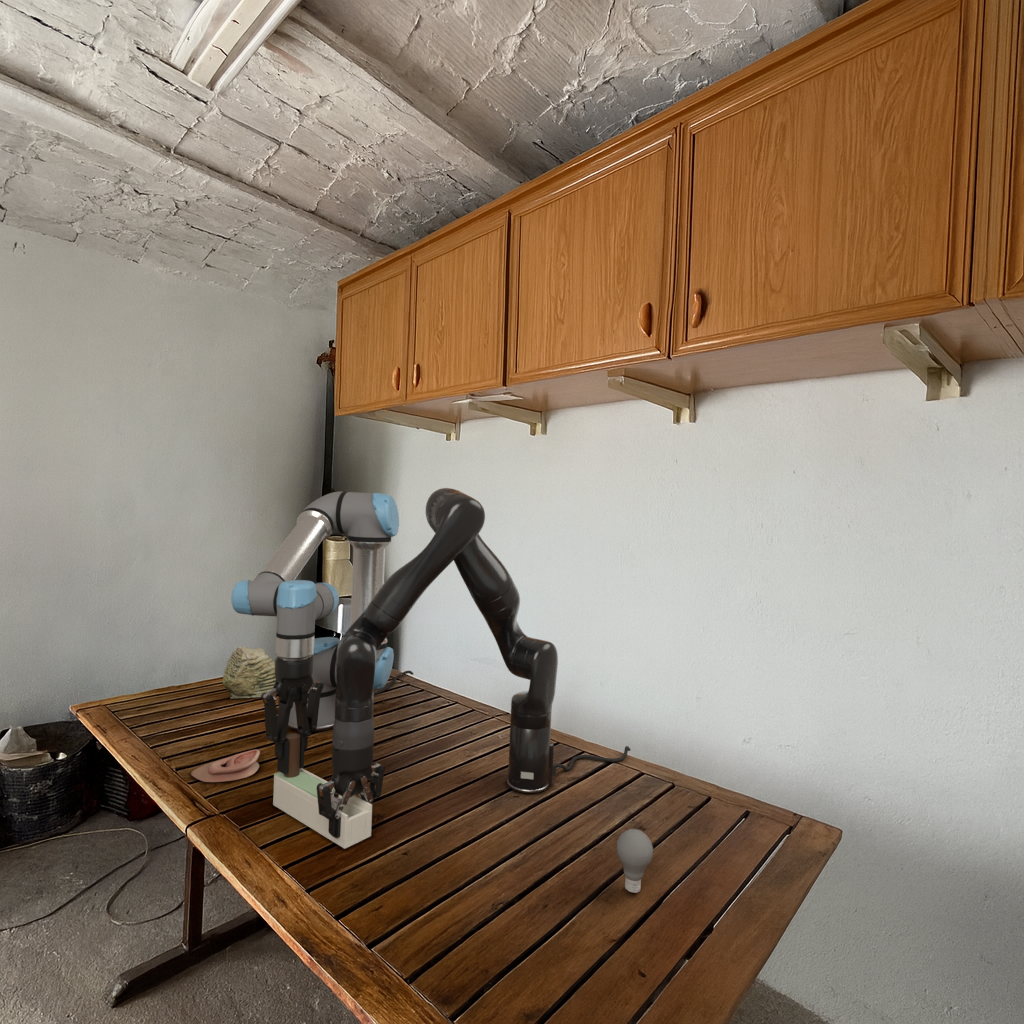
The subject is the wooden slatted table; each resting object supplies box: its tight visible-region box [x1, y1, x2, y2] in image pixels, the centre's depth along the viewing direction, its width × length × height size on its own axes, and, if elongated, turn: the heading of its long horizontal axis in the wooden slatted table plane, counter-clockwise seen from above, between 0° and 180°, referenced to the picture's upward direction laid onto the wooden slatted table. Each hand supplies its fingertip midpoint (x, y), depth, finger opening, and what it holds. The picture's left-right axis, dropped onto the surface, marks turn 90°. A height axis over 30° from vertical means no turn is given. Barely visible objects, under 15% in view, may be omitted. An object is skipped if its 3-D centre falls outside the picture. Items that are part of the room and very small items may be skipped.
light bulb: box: [615, 828, 654, 894], centre depth 106 cm, size 6×6×10 cm
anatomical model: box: [190, 748, 261, 783], centre depth 143 cm, size 13×4×12 cm
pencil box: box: [272, 768, 373, 850], centre depth 124 cm, size 24×6×6 cm, turn 51°
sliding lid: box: [273, 733, 334, 798], centre depth 128 cm, size 16×4×9 cm, turn 52°
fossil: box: [222, 646, 276, 699], centre depth 198 cm, size 9×18×15 cm, turn 132°
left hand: (290, 768), depth 131 cm, fingers closed on sliding lid, 3 cm apart
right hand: (350, 829), depth 118 cm, fingers closed on pencil box, 6 cm apart
